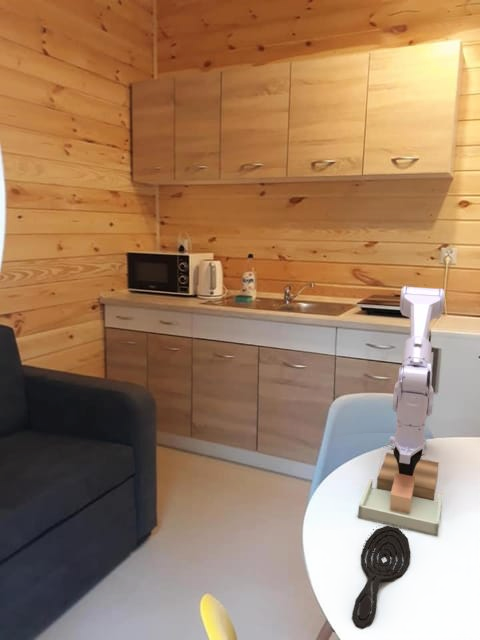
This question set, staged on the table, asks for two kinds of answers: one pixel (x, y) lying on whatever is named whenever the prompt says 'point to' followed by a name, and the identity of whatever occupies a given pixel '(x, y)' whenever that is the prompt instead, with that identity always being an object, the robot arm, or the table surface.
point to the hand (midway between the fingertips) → (405, 480)
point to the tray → (419, 518)
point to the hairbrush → (380, 569)
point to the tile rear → (404, 481)
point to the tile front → (401, 498)
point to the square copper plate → (422, 473)
